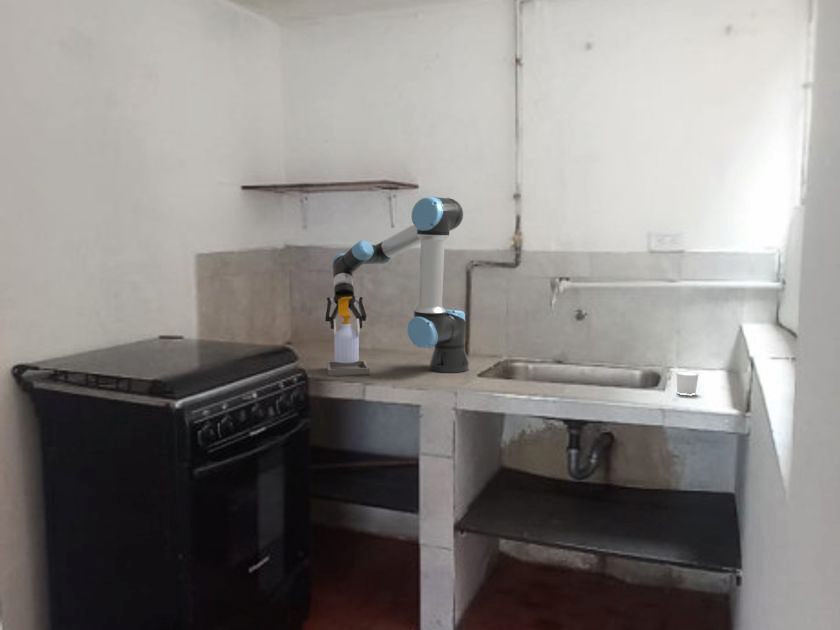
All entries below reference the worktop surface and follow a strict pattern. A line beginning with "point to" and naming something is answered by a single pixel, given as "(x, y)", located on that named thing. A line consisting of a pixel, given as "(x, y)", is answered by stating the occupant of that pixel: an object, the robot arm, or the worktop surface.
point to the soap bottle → (346, 337)
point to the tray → (347, 369)
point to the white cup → (686, 382)
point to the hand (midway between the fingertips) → (347, 334)
